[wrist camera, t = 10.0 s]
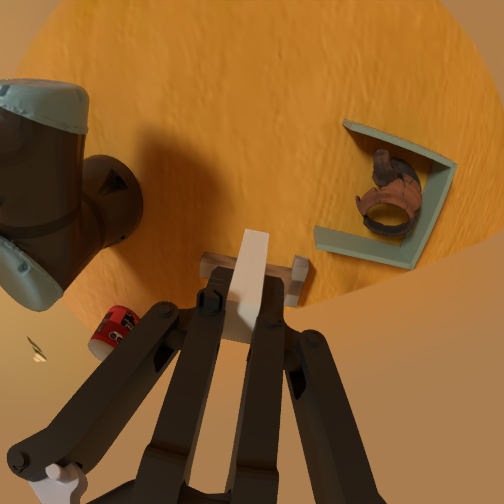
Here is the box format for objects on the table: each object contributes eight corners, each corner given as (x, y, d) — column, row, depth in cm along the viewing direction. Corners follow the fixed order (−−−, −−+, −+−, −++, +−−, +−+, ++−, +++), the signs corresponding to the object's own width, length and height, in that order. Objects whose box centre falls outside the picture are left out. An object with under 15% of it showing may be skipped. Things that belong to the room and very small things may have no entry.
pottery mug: (426, 194, 36) (427, 238, 32) (370, 201, 42) (364, 243, 38) (406, 126, 29) (409, 167, 25) (340, 141, 35) (330, 181, 31)
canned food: (144, 332, 59) (125, 370, 50) (114, 325, 59) (94, 360, 50) (137, 308, 55) (115, 347, 45) (106, 301, 55) (82, 337, 46)
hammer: (203, 278, 48) (198, 289, 46) (205, 237, 44) (200, 247, 41) (295, 295, 48) (295, 307, 45) (307, 257, 43) (308, 268, 41)
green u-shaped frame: (313, 230, 41) (315, 248, 36) (343, 118, 32) (352, 123, 27) (402, 251, 41) (412, 270, 36) (440, 154, 31) (457, 164, 27)
